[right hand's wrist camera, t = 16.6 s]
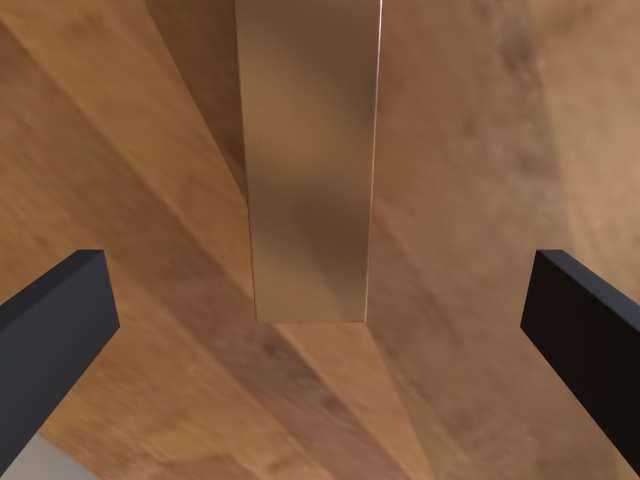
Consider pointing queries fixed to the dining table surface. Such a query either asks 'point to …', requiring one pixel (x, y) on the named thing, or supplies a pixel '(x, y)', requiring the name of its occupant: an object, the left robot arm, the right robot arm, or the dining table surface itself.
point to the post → (309, 153)
